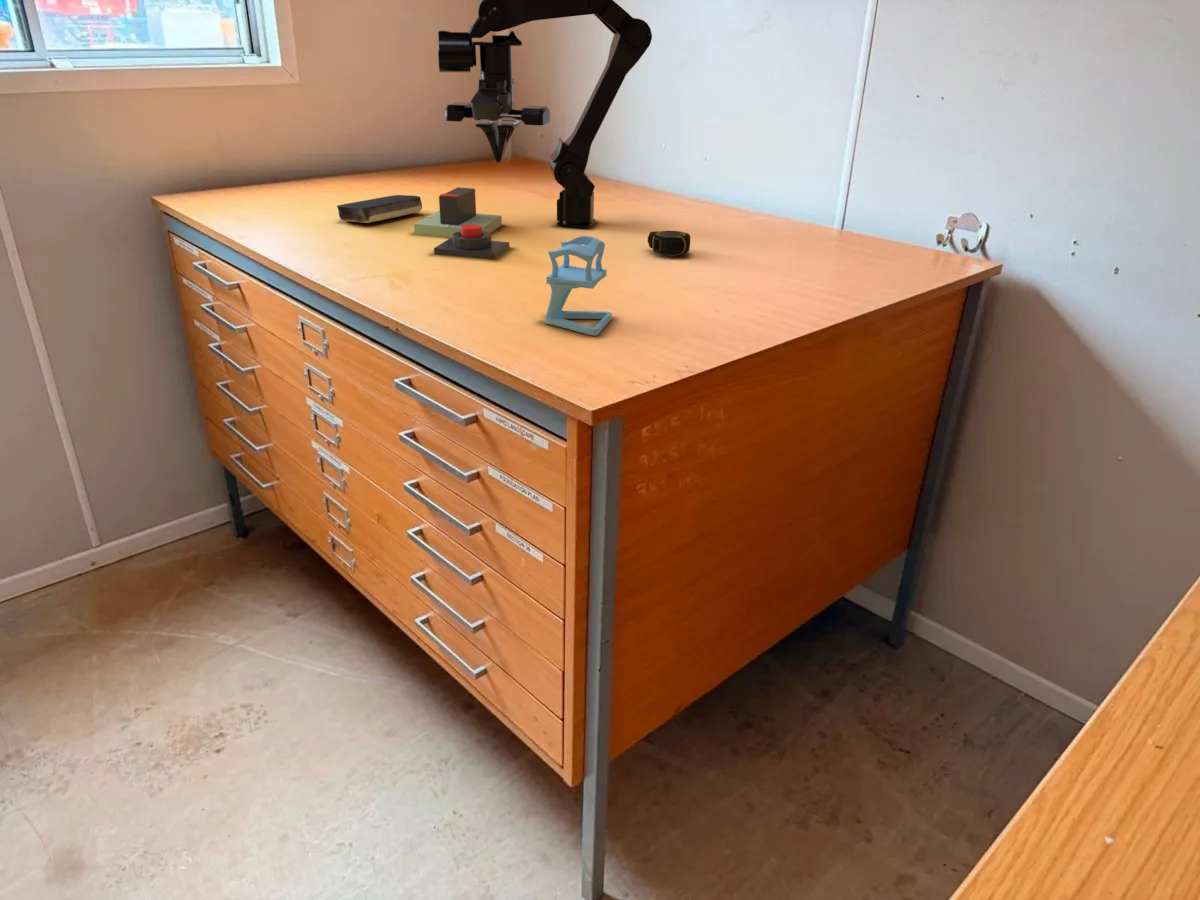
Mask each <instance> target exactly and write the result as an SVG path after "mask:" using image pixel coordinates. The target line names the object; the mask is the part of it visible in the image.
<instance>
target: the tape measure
mask: <svg viewBox="0 0 1200 900" xmlns="http://www.w3.org/2000/svg"><path fill="white" fill-rule="evenodd" d="M647 244H648V247H649V248H650V249H652V250H653V252H654V253H657V254H660V255H666V256H668V257H679V256H680V255H685V254H687V253H689V251H690V249H691V235H690V234H689V233H688V232H684V231H680V230H679V231H678V230H660V231H656V230H655V231H650V232H649V233H648V236H647Z"/></svg>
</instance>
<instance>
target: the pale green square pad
mask: <svg viewBox="0 0 1200 900" xmlns="http://www.w3.org/2000/svg"><path fill="white" fill-rule="evenodd" d="M502 221H503V218H502V215H500V214H489V213H476V215H475V216H473V217H472V218H470V219H468V220H466V221H465V222H463V223H461V224H459V225H451V224H441V223H440V210H438V211H436V212H433V213H432V214H429V215H426V216H425V217H424V218H423V219H421V220H418V221H417V222H415V223H413V227H414V228H413V229H414V235H421V236H430V237H432V236H433V237H445V238H451V237H453V236H452V234H454V233H456V232H460V231H461V226H463V225H467V224H476V225H480V226H482V231H485V232H488V233H490V234H492V233H493V232H494V231H495V230H498V229H499V228H500V227H501V226H503V223H502Z"/></svg>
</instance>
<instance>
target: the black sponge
mask: <svg viewBox="0 0 1200 900" xmlns="http://www.w3.org/2000/svg"><path fill="white" fill-rule="evenodd" d="M336 208H337V209H338V210H337V211H338V217H339V219H340V220H341V221H346V222H351V223H352V222H355V223H363V224H369V223H374V222H379V221H384V220H389V219H393V218H398V217H403V216H406V215H407V216H408V215H410V214H415V213H419V212H421V211H422V209H423V203H422V200H421V196H417V195H405V194H393V195H387V196H383V197H376V198H370V199H364V200H359V201H354V202H348V203H343V204H338V205H336Z"/></svg>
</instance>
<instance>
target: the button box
mask: <svg viewBox="0 0 1200 900" xmlns="http://www.w3.org/2000/svg"><path fill="white" fill-rule="evenodd" d="M491 234H492V233H488V232H485V231H482V237H477V238H466V237H461V231H460V232H456V233H454V234H452V236H453V237H449V238H448V239H446V240H445V241H443V242H441V243H439V244H438V245H436V246H435V247H433V254H434V255H437V256H446V257H447V256H448V257H457V258H458V257H459V258H460V257H461V258H470V259H471V258H473V259H483V260H493V261H495V260H496V259H497V258H499V257H500V256H502V255H503V254H504V253H506V252H507V251H508V250H510V248H511V247H510V241H499V240H492V235H491Z"/></svg>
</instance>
